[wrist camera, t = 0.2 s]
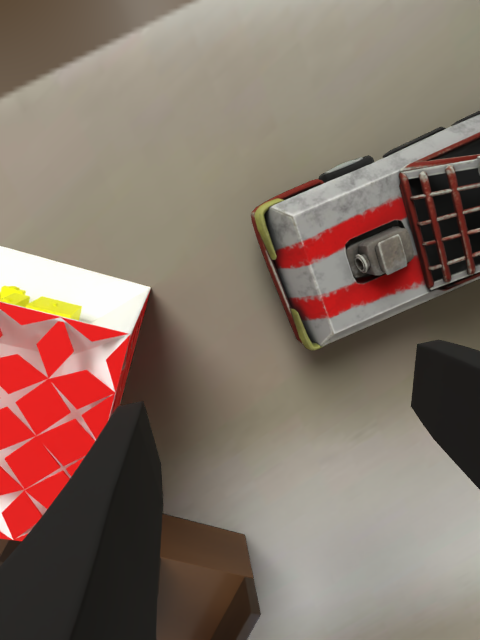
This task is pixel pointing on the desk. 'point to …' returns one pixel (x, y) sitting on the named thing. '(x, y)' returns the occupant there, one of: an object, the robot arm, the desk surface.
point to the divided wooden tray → (199, 582)
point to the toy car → (376, 234)
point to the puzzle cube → (57, 375)
